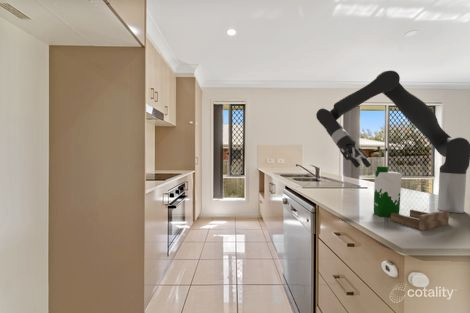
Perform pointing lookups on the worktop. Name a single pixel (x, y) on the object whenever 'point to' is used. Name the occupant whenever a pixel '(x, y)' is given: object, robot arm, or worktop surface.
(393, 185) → the soya milk
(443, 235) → the worktop surface
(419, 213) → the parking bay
